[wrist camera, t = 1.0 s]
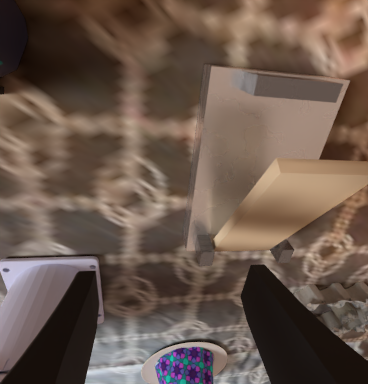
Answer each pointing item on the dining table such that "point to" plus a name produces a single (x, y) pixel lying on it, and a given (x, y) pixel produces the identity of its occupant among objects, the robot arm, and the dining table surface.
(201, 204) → the block
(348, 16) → the dining table surface
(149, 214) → the dining table surface
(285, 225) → the latch bar
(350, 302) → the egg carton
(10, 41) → the speaker
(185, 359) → the purple beige domed disc
